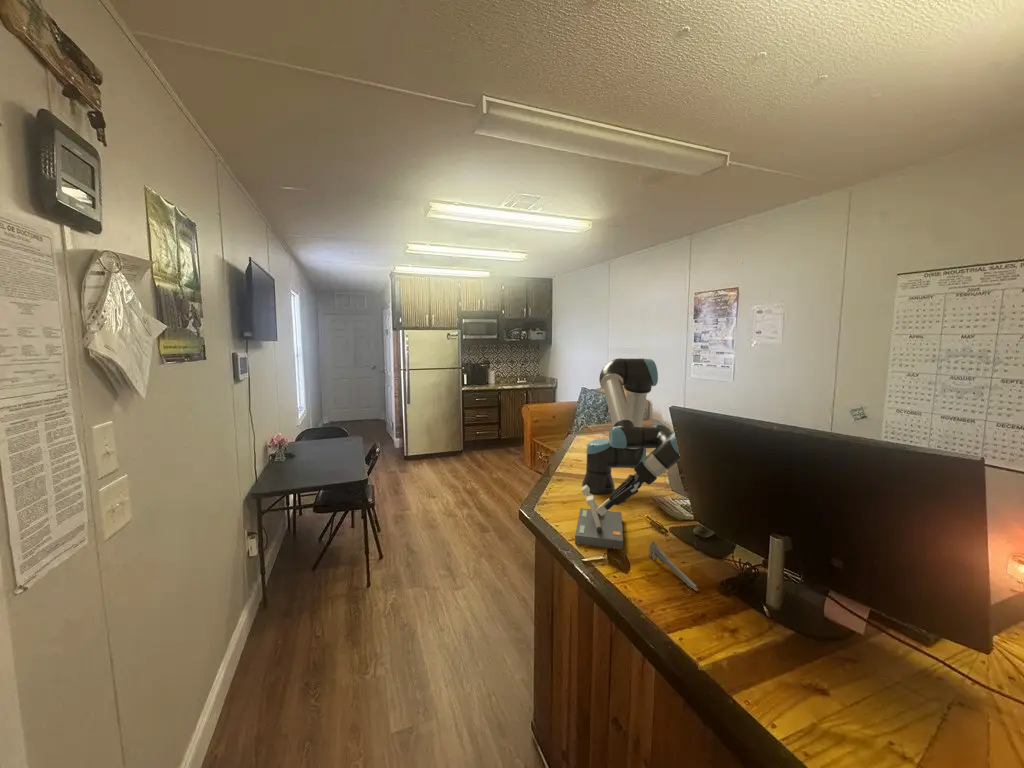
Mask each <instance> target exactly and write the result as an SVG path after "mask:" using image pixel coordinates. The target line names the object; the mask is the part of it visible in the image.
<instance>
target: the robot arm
mask: <svg viewBox="0 0 1024 768" xmlns="http://www.w3.org/2000/svg"><path fill="white" fill-rule="evenodd" d="M598 379H599V381H598V382H599V385H600V389H602V390H603V391H604V396H605V400H606V403H607V404H606V405H607V408H608V411H609V416H610V417H609V418H610V420H611V424H612V426H611V427H610V428H609V430H608V439H607V438H599V439H598V438H597V439H593V440H591V441H589V442H588V443H587V444H586V464H585V465H586V466H585V468H586V470H585V471H586V472H585V474H584V477H583V479H582V483H581V485H582V486H581V488H582V487H583V486H585V485H588V487H589V488H590V491H589V492H591V494H594V495H595V494H596V495H608V494H610V496H609V497H608V498H607V499H606V500H605V501H604V502H602V503H601V504H600V505H599V507H598V508H597V509H596V511H597V512H598V513H599V514H600V515H601V516H603V515H604V514H605V513H606V512H607V511H611V509H612V508H613V507H614V506H616V507H618V506H620V505H621V504H622V503H623V502H625V501H626V500H627V499H629V498H631V497H632V496H633V495H635V494H637V493H638V492H639V489H640V488H641V487H642V485H643V484H644V483H645V484H646V485H648V486H649V485H651V484H652V483H654V482H656V480H658V479H657V478H658V477H661V476H662V475H664V474H667V472H668V471H667V470H669V469H671V467H673V466H675V465H676V464H677V463H678V462H679V461H680V460H681V459H680V456H679V450H678V445H677V441H676V437H675V432H672V430H670V428H669V427H667V426H666V425H665V424H662V423H658V422H657V423H654V424H652V425H650V427H649V426H643V423H644V417H645V410H646V409H645V408H646V403H647V395H648V394H649V393H650V392H651V391H652V387H656V386H657V385H658V383H659V382H658V381H659V372H658V368H657V364H656V362H655V360H653V359H651V358H613V359H612V360H610V361H608V362H607V363H605V364H604V366H603V368H602V369H601V371H600V373H599V378H598ZM625 391H626V393H625ZM647 449H653V450H652V451H651V452H650V453H649V454H647ZM612 468H613V469H614V468H617V469H634V472H635V473H634V474H629V475H628V476H627V477H626V478H625V480H624V481H623V482H622V483H620V484H619V485H618V486H617V487H616V486H615V483H614V479H613V476H612ZM615 487H616V488H615Z"/></svg>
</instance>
